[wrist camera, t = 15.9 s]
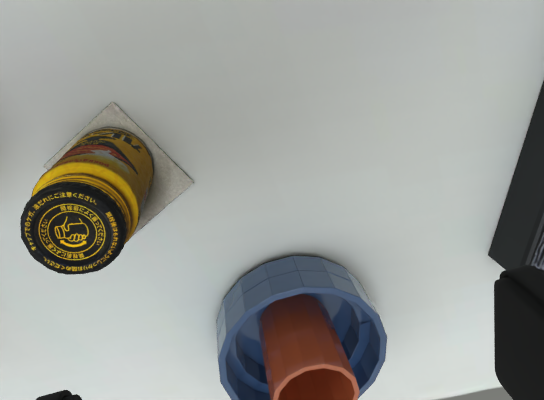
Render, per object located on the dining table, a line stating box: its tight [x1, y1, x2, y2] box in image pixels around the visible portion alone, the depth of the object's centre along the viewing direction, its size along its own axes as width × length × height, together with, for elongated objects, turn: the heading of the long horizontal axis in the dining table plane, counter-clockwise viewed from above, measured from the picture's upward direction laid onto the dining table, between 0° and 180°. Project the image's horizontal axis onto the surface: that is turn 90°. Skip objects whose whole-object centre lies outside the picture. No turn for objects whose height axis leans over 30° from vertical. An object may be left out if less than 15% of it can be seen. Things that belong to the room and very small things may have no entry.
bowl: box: [217, 256, 387, 400], centre depth 39 cm, size 14×14×6 cm
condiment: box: [21, 102, 194, 274], centre depth 29 cm, size 7×8×12 cm
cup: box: [259, 294, 360, 400], centre depth 37 cm, size 7×7×9 cm
